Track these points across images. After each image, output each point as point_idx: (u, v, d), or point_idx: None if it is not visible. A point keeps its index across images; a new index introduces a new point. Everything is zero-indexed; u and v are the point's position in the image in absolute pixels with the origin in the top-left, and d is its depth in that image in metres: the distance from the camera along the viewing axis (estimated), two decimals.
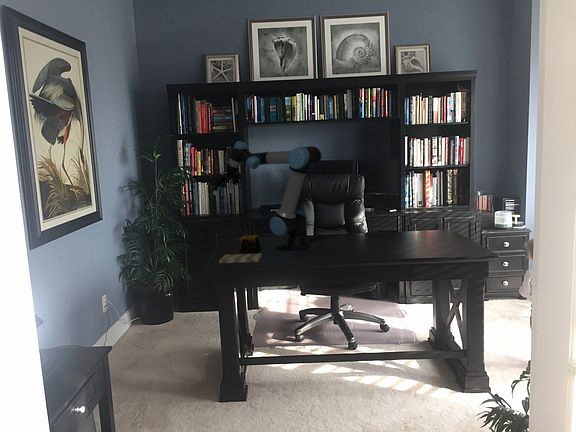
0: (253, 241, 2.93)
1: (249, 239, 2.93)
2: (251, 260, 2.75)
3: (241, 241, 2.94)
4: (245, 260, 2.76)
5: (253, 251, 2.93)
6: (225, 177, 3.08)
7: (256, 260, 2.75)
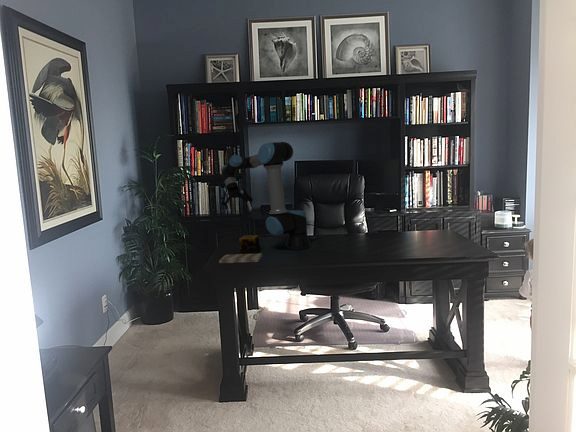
0: (253, 241, 2.93)
1: (249, 239, 2.93)
2: (251, 260, 2.75)
3: (241, 241, 2.94)
4: (245, 260, 2.76)
5: (253, 251, 2.93)
6: None
7: (256, 260, 2.75)
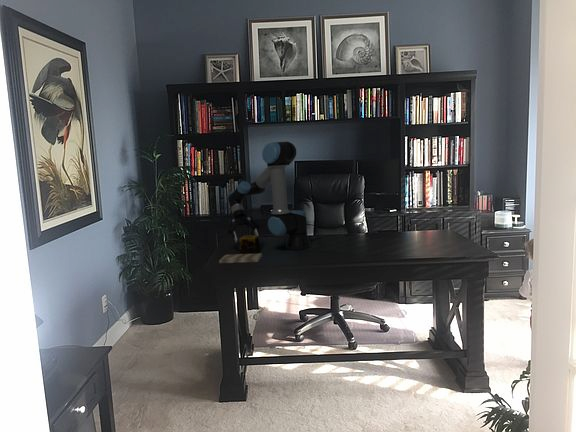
0: (253, 241, 2.92)
1: (249, 239, 2.92)
2: (251, 260, 2.75)
3: (241, 241, 2.94)
4: (245, 260, 2.76)
5: (253, 251, 2.93)
6: (236, 223, 3.05)
7: (256, 260, 2.75)
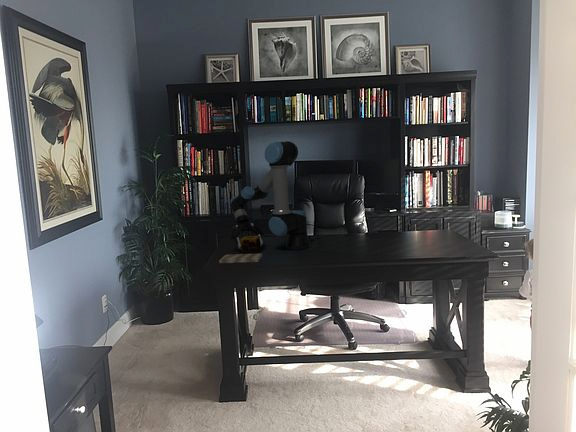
0: (254, 242, 2.90)
1: (250, 240, 2.90)
2: (251, 260, 2.75)
3: (242, 242, 2.91)
4: (245, 260, 2.76)
5: (254, 251, 2.91)
6: (239, 229, 3.01)
7: (256, 260, 2.75)
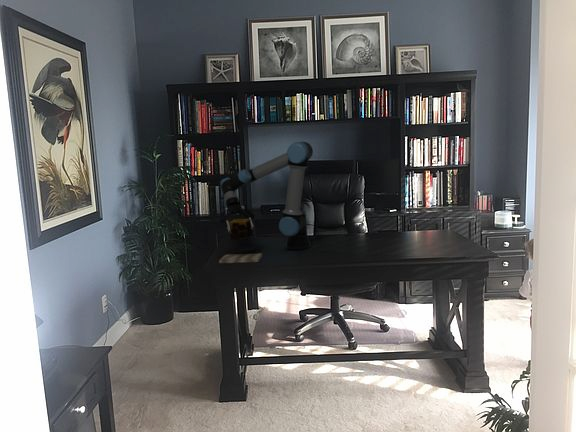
0: (244, 225, 2.73)
1: (240, 223, 2.73)
2: (251, 260, 2.75)
3: (232, 225, 2.75)
4: (245, 260, 2.76)
5: (244, 235, 2.74)
6: (229, 211, 2.85)
7: (256, 260, 2.75)
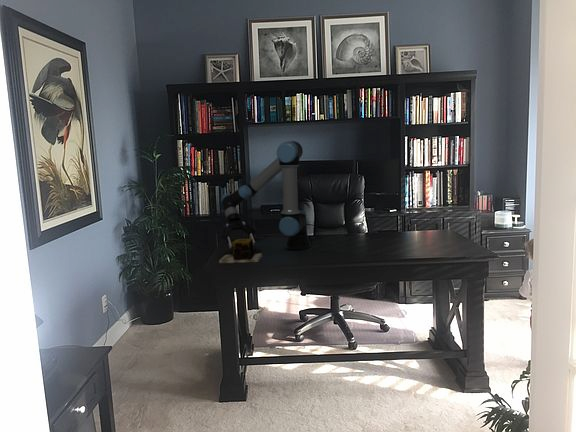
0: (247, 245, 2.74)
1: (243, 243, 2.75)
2: (251, 260, 2.75)
3: (234, 245, 2.76)
4: (245, 260, 2.76)
5: (247, 255, 2.75)
6: (230, 228, 2.86)
7: (256, 260, 2.75)
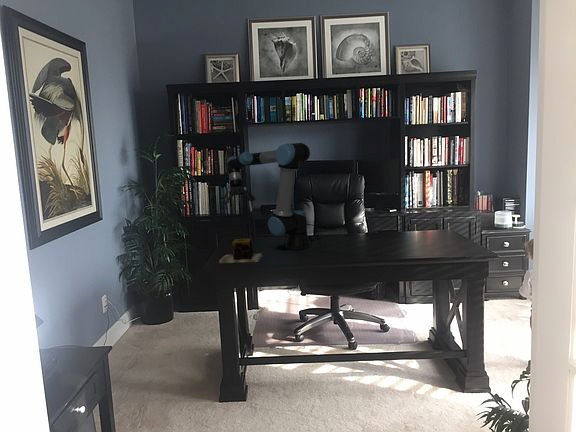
0: (247, 245, 2.75)
1: (243, 243, 2.75)
2: (251, 260, 2.75)
3: (235, 245, 2.76)
4: (245, 260, 2.76)
5: (247, 255, 2.76)
6: (231, 193, 3.06)
7: (256, 260, 2.75)
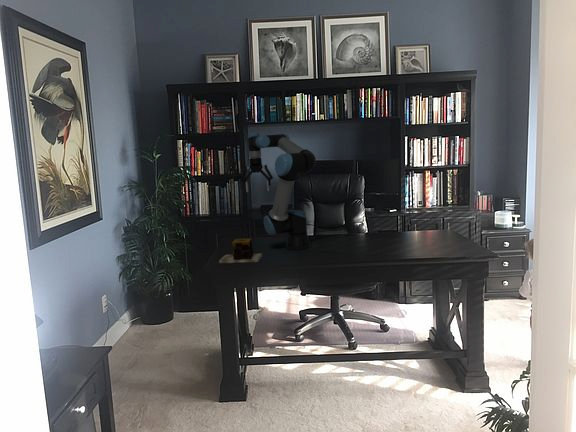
0: (247, 245, 2.75)
1: (243, 243, 2.75)
2: (251, 260, 2.75)
3: (235, 245, 2.76)
4: (245, 260, 2.76)
5: (247, 255, 2.76)
6: (250, 171, 3.13)
7: (256, 260, 2.75)
